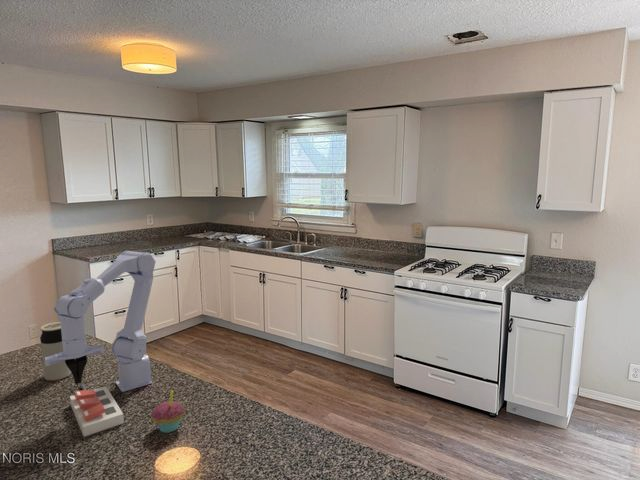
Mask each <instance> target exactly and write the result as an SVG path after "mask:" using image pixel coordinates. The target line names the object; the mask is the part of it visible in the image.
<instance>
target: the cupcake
mask: <svg viewBox="0 0 640 480" xmlns="http://www.w3.org/2000/svg"><path fill="white" fill-rule="evenodd" d="M173 389H174V388H171V390H170V392H169V393H170V397H169V401H162V402H160V403H159V404H157V405H155V406H154V408H153V409H152V411H151V414H150V418H151V421H153V422H154V423H156V424H157V426H158V428H159V431H160V432H161V433H165V434H166V433H173V432H174V431H176V430H177V429H178V428H179V424H180V422H181V419H182V418H183V417H184V414H185V408H184V406H183V404H182V403H181V402H179V401H175V400H173V399H174V398H173V397H174V390H173Z"/></svg>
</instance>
